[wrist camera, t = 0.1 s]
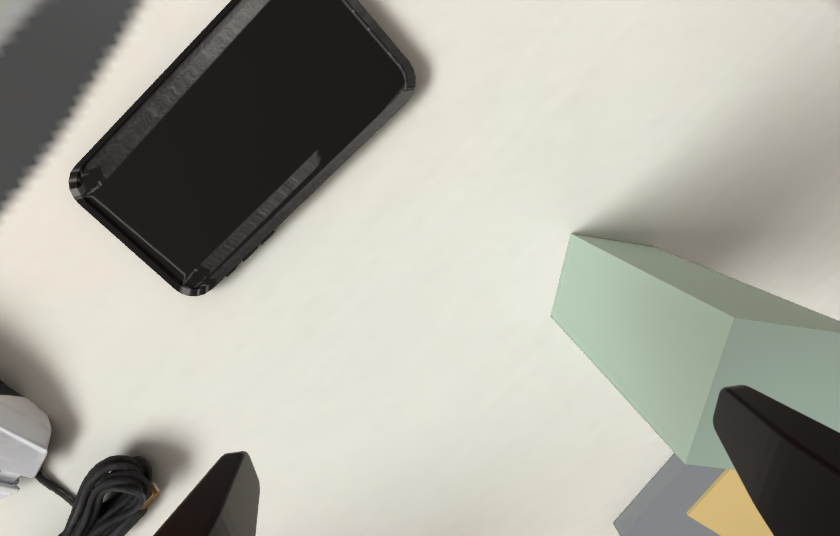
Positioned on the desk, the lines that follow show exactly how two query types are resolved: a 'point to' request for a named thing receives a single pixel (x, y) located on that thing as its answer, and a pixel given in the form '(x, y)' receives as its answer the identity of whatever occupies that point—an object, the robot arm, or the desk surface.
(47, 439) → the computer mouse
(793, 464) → the robot arm
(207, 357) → the desk surface
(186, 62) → the phone
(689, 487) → the pad
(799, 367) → the sage block
